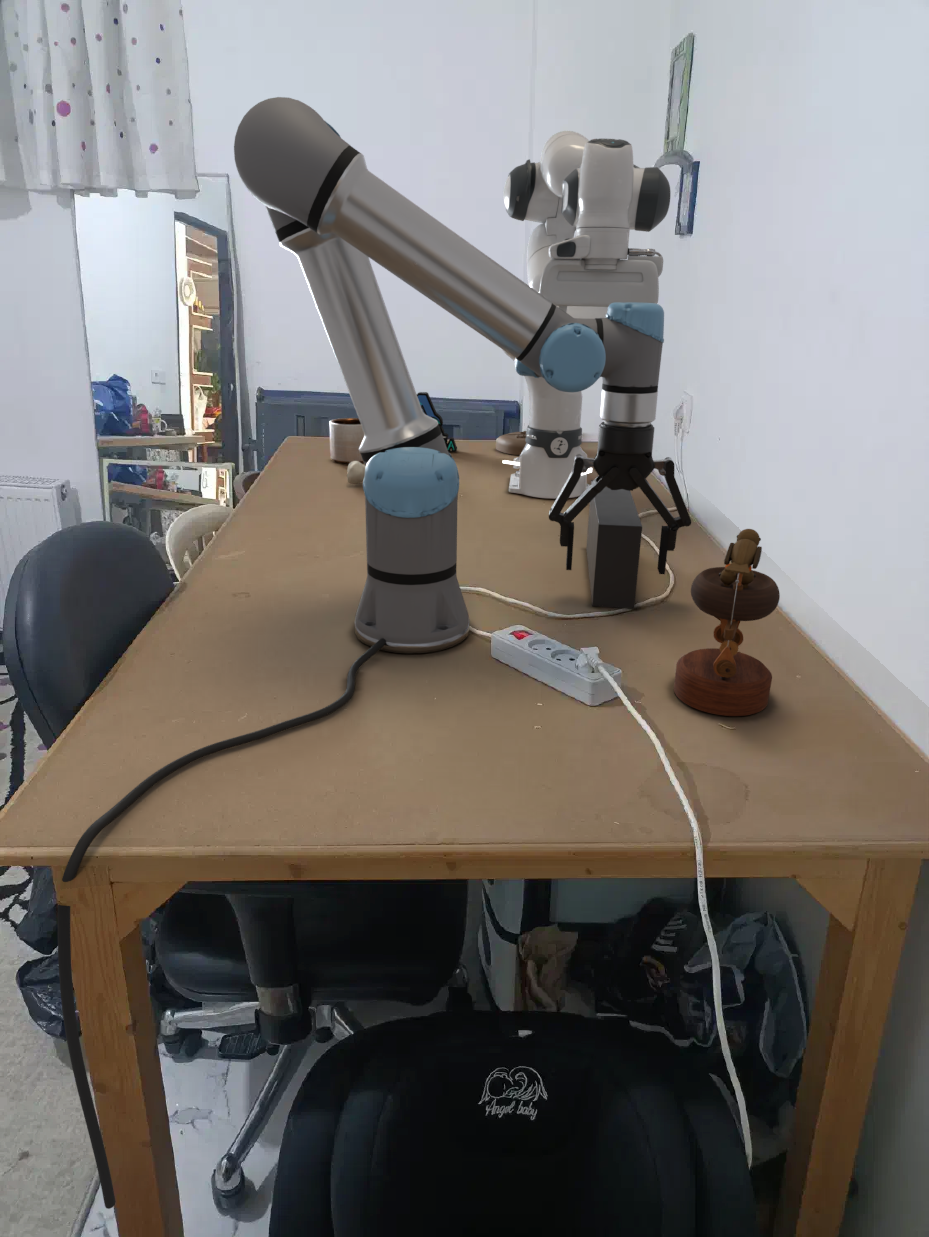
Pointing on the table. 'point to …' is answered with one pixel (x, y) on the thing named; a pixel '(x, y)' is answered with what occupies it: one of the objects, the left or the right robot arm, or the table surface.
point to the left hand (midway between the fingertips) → (614, 569)
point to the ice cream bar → (511, 443)
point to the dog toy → (355, 472)
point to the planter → (346, 440)
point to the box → (613, 548)
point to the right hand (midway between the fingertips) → (595, 335)
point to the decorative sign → (431, 412)
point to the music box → (729, 635)
